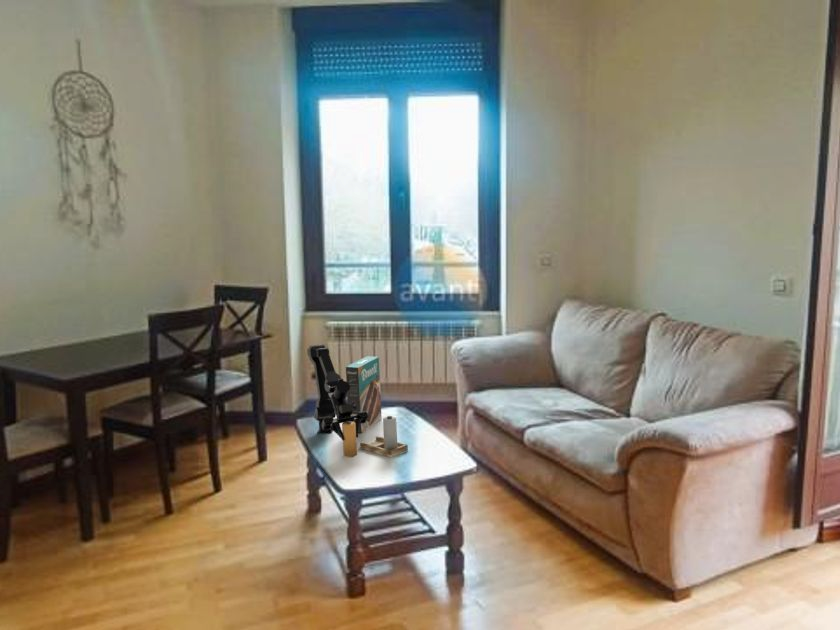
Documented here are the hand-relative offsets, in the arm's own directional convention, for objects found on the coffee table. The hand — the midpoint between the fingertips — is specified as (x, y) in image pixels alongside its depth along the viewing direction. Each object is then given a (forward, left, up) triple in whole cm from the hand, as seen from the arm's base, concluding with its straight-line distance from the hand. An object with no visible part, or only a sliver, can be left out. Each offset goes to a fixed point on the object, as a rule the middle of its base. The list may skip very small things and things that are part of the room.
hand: (350, 438), depth 273 cm
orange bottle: (-1, -1, -7) cm, 7 cm away
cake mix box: (-38, 0, -7) cm, 39 cm away
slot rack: (-7, +12, -7) cm, 16 cm away
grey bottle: (-4, +15, -6) cm, 17 cm away
